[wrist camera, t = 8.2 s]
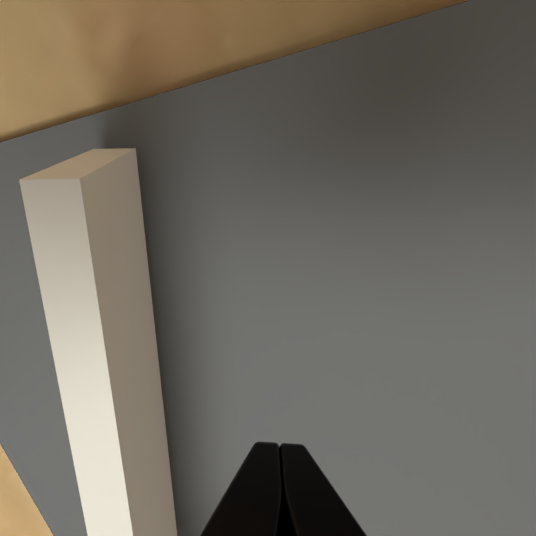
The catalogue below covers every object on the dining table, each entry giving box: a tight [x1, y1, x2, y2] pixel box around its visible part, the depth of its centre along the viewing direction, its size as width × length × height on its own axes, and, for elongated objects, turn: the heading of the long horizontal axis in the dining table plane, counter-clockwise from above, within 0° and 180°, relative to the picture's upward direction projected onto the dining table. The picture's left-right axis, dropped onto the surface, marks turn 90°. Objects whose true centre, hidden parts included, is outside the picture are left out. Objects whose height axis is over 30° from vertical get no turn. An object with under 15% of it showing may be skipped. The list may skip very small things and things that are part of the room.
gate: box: [19, 148, 177, 536], centre depth 15 cm, size 18×2×5 cm, turn 1°
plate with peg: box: [0, 0, 536, 536], centre depth 16 cm, size 23×23×6 cm
